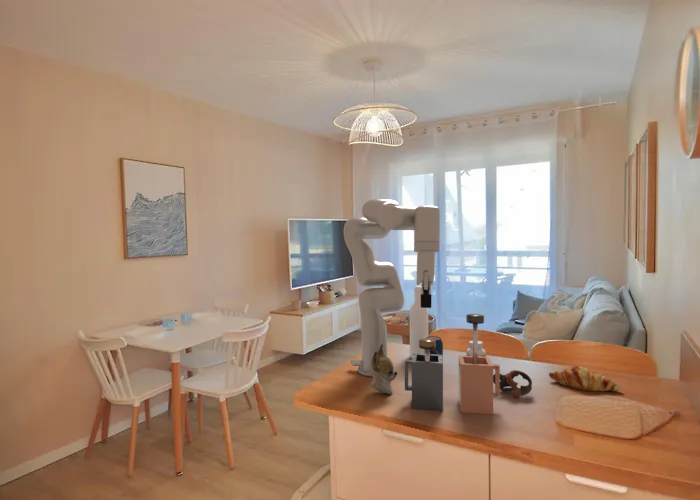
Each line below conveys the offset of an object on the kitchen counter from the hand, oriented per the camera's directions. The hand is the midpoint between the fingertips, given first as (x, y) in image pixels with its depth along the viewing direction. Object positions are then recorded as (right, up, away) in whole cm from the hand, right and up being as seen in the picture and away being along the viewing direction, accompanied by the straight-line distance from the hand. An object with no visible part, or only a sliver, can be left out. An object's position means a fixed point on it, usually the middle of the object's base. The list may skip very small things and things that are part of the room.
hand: (425, 307), depth 126 cm
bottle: (+6, -28, +49) cm, 57 cm away
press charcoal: (-1, -29, +1) cm, 30 cm away
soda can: (+9, -29, +33) cm, 45 cm away
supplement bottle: (+23, -29, +24) cm, 44 cm away
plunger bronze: (0, -28, 0) cm, 28 cm away
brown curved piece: (+30, -29, +9) cm, 42 cm away
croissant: (+56, -29, +13) cm, 64 cm away
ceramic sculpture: (-12, -30, +9) cm, 33 cm away
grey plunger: (+14, -20, -3) cm, 25 cm away
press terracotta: (+15, -29, -3) cm, 33 cm away
